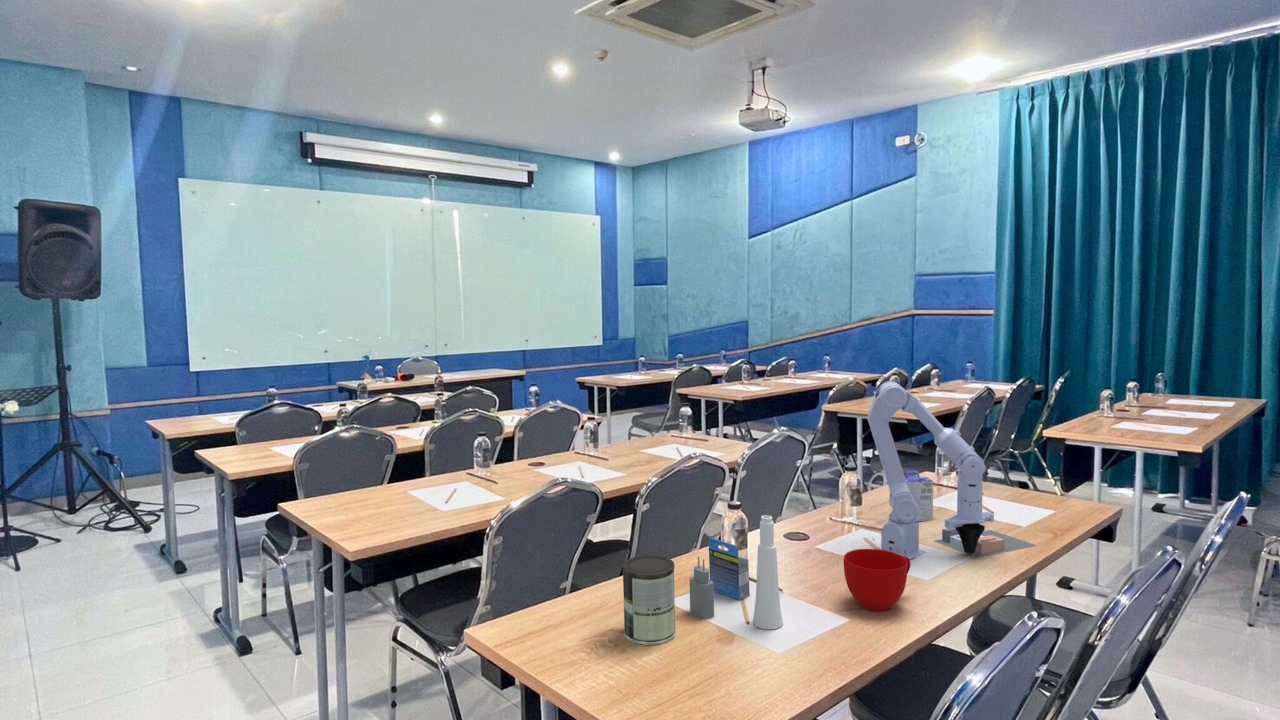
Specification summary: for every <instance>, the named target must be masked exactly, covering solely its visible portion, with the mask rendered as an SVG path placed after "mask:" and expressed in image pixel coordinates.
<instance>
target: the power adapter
mask: <svg viewBox="0 0 1280 720" xmlns="http://www.w3.org/2000/svg"><path fill="white" fill-rule="evenodd" d="M714 592H715V591H714V582H712V581H710V569H708V568H706V566H705V559H704V558H703V559H702V565H700V556H697V565H694V567H693V576H690V577H689V611H691V612H692V613H691V612H690V613H691V614H693V615H694V614H695V615H694V616H696V617H698V618H699V619H700V620H703V619H704V621H705V620H708V619H709V620H710V619H712V617H713V618H714V617H715V593H714Z"/></svg>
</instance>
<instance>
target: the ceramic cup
mask: <svg viewBox="0 0 1280 720" xmlns="http://www.w3.org/2000/svg"><path fill="white" fill-rule="evenodd" d="M910 568H911V559H910V560H909V558H908V557H906V556H901V555H899V554H897V553H894V552H890V551H885V550H881V549H879V548H878V549H877V548H859V549H853V550H849V551H848V552H846V553H845V554H844V555H843V571H844V578H845V582H846V585H847V588H848V590H849V592H850V594H851V596H852V597H853V599H854V600H855V601H856V602H857V603H858V605H860V607H862V608H863V609H866V610H868V611H874V612H884V611H888V610H890V609H892V607H893V606H894V605H895V604H896V603H897V602H898V601H900V599H901V597H902V595H903V594H904V591H905V588H906V585H907V579H908V578H907V577H908V574H909V572H910Z"/></svg>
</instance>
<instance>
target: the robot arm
mask: <svg viewBox="0 0 1280 720" xmlns="http://www.w3.org/2000/svg"><path fill="white" fill-rule="evenodd" d="M872 399H873V400H872V403H871V406H870V409H869V411H868V414H867V422H868V425H869V428H870V431H871V435H872V438H873V440H874V444H875V448H876V451H877V453H878V457H879V460H880V463H881V466H882V469H883V470H882V471H883V474H884V476H885V480H886V483H887V486H888V489H889V498H888V502H889V505H890V507H891V509H892V511H890V513H889V514H888V520H887V523H885V524H884V525H883V527H882V528H881V535H880V536H881V537H880V538H881V542H880V543H881V547H880V550H885V551H890V552H894V553H897V554H899V555H901V556H906V557H908V558H909V560H910V561H911V559H914V558H916V557H918V556H920V555H922V554H925V553H926V550H925V549H924V550H923V549H921V548H920V547H919V545H920V544H919V543H920V541H919V538H920V537H919V536H920V523H919V522H920V521H919V517H918V515H919V506H918V504H917V502H916V501H915V499H914V496H913V495H912V493H911V492H910V490H909V488H908V485H907V482H906V479H905V478H906V476H905V474H904V470H903V467H902V463H901V460H900V457H899V455H898V451H897V448H896V445H895V441H894V438H893V435H892V432H891V428H890V426H889V422H890V420H891V419H892V418H893V416H895V414H896V413H897V412H899V411H900V410H901V411H902V412H904V413H908V414H912V415H914V416H915V417H916V418H917V420H919V421H920V423H922V424H923V425H924V427H926V429H927V430H928V431H930V432H931V434H933V436H934V438H933V439H934V440H933V441H934V442H933V443H934V444H935V445H936V446H937V448H938V450H939V449H940V451H941V452H942V453H943V454H944V455H945V456H946V457H947V458H948V459H949V460H950V461H951V463H954V466H955V467H956V468H958V470H957V482H956V483H957V484H956V485H957V489H956V491H957V493H956V494H957V495H956V497H957V498H956V501H957V503H956V514H955V515H953V516H951V517H949V518H947V519H944V528H945V529H947V528H949V529H954V527H955V529H956V530H957V532H958V534H959V536H960V538H961V541H962V545H963V549H964V552H966V553H969V554H973V553H974V552H975V549H976V546H977V543H978V540H979V538H980V536H981V534H982V533H983V531H986V529H985V528H986V526H985V525H983V524H985V523H986V522H991V523H992V522H994V521H995V520H994V519H995V517H994V516H995V513H992V512H989V511H986V512H985V511H984V512H983V474H984V473H985V471H986V470H987V467H986V465H985V461H984V460H983V458H982V457H980V455H978V454H977V452H976V451H975V450H976V449H975V448H974V446H973V445H969V444H968V443H967V442H966V441H965V440H964V439H963V438H962V437H961V436H962V433H961V432H960V431H959V430H955V429H954V428H952V427H944V426H943V424H941V422H940V421H938V419H937V417H935V415H933V414H932V413H931V412H930V410H929V409H928V408H927V407H926V406H925V405H924V404H923V402H921V400H920V399H918V398H917V397H916V396H914V395H913V394H912V393H911V392H909V391H908V390H906V389H905V388H904V387H903V386H901V385H900V383H898V382H897V381H892V380H889V381H888V380H887V381H885V382H883V383H882V384H880V386H879V387H878V388H877V390H876V391H875V392H874V395H873V398H872ZM966 553H965V554H966Z"/></svg>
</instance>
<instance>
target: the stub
mask: <svg viewBox="0 0 1280 720" xmlns="http://www.w3.org/2000/svg"><path fill="white" fill-rule="evenodd" d="M1004 549H1005V539H1002V538H999V537H996V536H993V535H989V536H984V537H980V538H979V540H978V543H977V546H976V549H975V552H977V553H980V554H985V553H989V552H994V551H999V550H1004Z"/></svg>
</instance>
